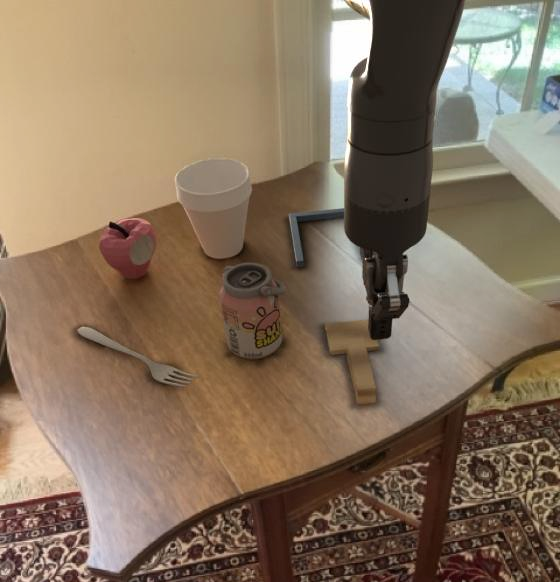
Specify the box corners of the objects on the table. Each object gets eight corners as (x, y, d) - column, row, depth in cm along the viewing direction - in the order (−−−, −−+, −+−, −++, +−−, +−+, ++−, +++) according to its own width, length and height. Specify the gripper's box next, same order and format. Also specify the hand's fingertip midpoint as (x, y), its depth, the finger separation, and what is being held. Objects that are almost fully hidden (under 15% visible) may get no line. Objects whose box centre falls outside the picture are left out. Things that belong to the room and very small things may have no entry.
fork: (87, 323, 102) (84, 314, 101) (202, 383, 91) (200, 374, 89) (71, 334, 100) (67, 325, 99) (186, 397, 89) (184, 388, 88)
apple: (126, 295, 106) (111, 243, 100) (98, 274, 111) (82, 223, 104) (174, 269, 111) (162, 217, 104) (145, 250, 116) (132, 199, 109)
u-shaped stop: (371, 260, 109) (371, 253, 108) (296, 267, 109) (296, 261, 108) (357, 212, 120) (357, 206, 119) (289, 219, 120) (288, 213, 119)
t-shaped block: (393, 401, 86) (394, 386, 84) (339, 406, 86) (339, 391, 84) (372, 323, 97) (372, 308, 95) (325, 327, 97) (324, 313, 95)
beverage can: (260, 314, 101) (252, 247, 92) (300, 337, 96) (296, 269, 88) (215, 345, 96) (203, 278, 88) (255, 371, 92) (246, 303, 83)
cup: (218, 277, 108) (206, 203, 99) (174, 249, 115) (158, 178, 106) (272, 245, 114) (266, 172, 104) (227, 221, 121) (217, 150, 111)
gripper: (448, 221, 53) (429, 374, 65) (413, 147, 62) (401, 293, 74) (356, 230, 53) (353, 382, 65) (334, 155, 62) (336, 300, 74)
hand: (379, 334), depth 70 cm, fingers closed
